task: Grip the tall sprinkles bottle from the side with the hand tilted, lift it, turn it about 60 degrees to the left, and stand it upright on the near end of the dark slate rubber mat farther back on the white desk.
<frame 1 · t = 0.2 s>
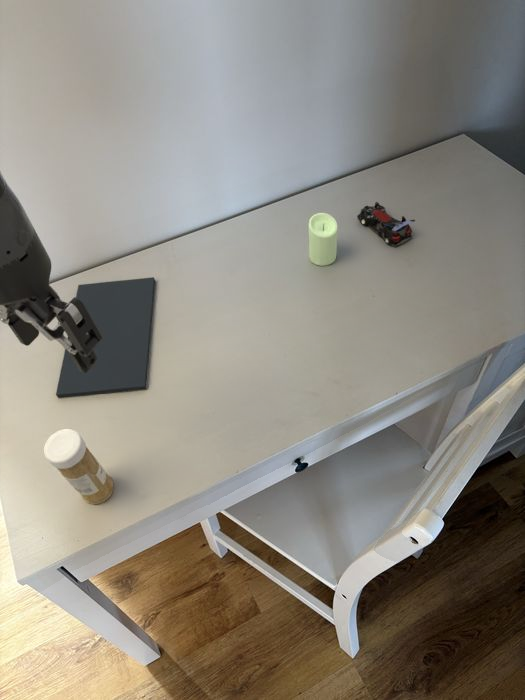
hand: (59, 352, 59), 24 cm above the table, tool pointing down, fingers open, 8 cm apart
toy car: (382, 228, 103), on the table
sprinkles bottle: (98, 490, 74), on the table
candle: (322, 257, 99), on the table
mat: (110, 334, 91), on the table
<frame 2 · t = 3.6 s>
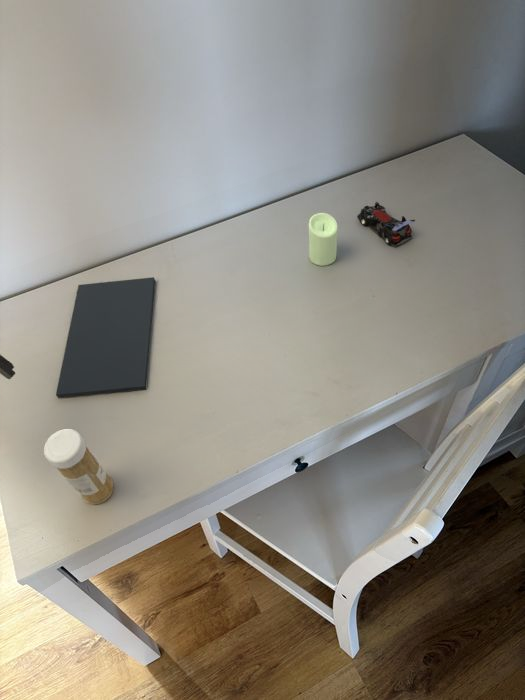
nothing on the table moved.
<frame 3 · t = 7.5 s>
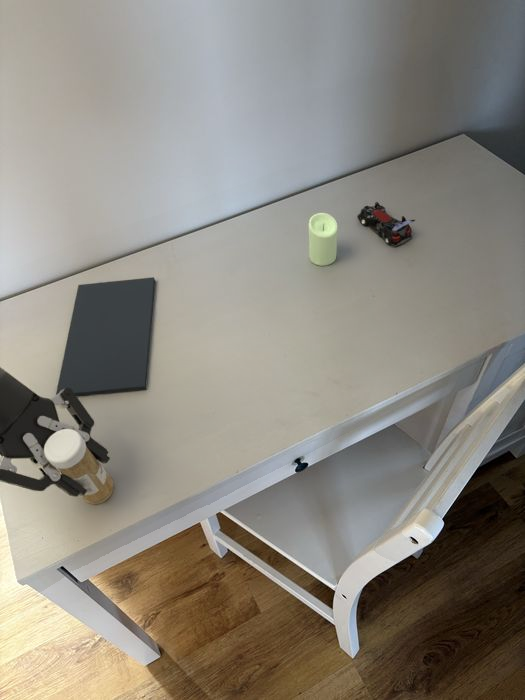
hand: (95, 476, 69), 6 cm above the table, tool tilted 45°, fingers closed on sprinkles bottle, 4 cm apart
sprinkles bottle: (98, 490, 74), on the table, touching gripper
everything else where it was.
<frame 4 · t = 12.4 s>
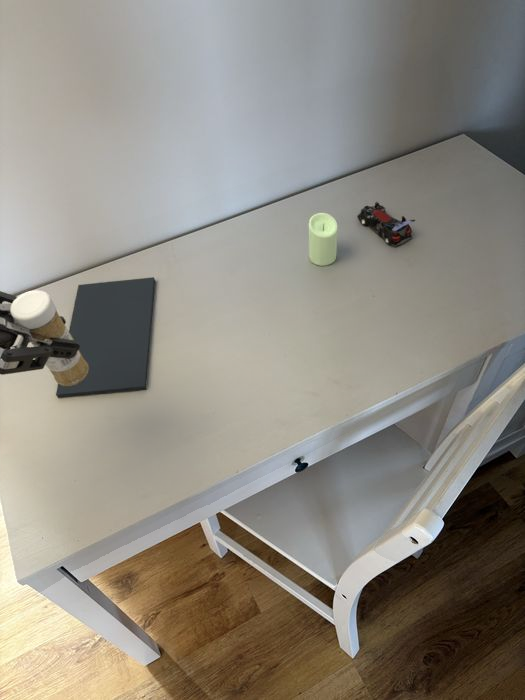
hand: (68, 337, 66), 19 cm above the table, tool tilted 45°, fingers closed on sprinkles bottle, 4 cm apart
sprinkles bottle: (72, 374, 70), point 13 cm above the table, touching gripper
everything else where it was.
when the fingers open (7 cm above the table, at t = 17.4 s): sprinkles bottle stays where it is, resting on mat.
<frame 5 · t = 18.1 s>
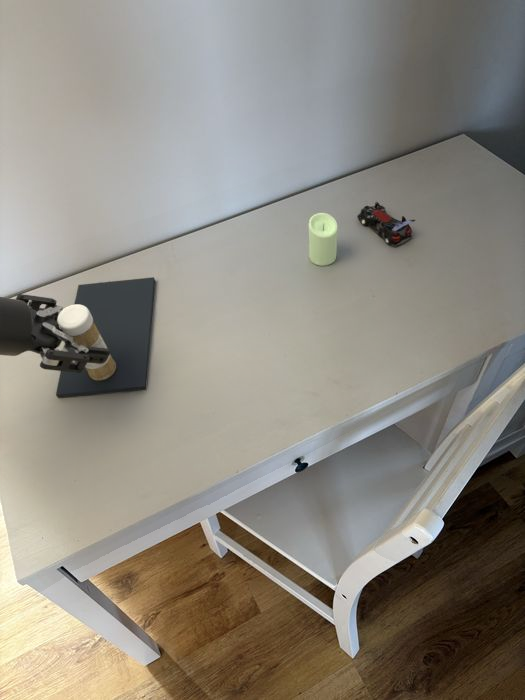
hand: (95, 337, 80), 8 cm above the table, tool tilted 45°, fingers open, 8 cm apart
sprinkles bottle: (103, 370, 86), point 1 cm above the table, touching mat
everything else where it was.
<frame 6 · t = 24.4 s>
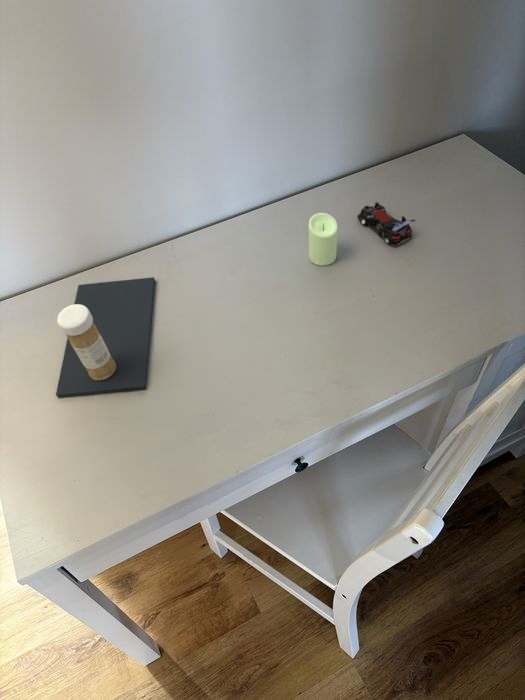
nothing on the table moved.
at the end: sprinkles bottle inside the target area on the mat (0.5 cm from its centre), point 0.8 cm above the mat's base; sprinkles bottle tilted 0°; sprinkles bottle moved 19.9 cm from its start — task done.
